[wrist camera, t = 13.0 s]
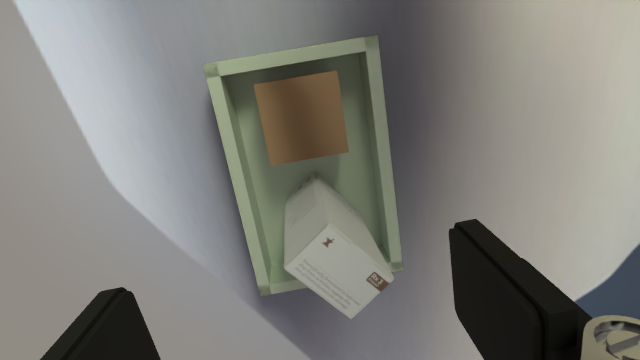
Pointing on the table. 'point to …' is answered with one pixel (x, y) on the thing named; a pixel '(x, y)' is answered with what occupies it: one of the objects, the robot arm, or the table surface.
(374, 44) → the tote
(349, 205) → the skincare box
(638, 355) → the robot arm
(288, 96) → the walnut block
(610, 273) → the table surface
